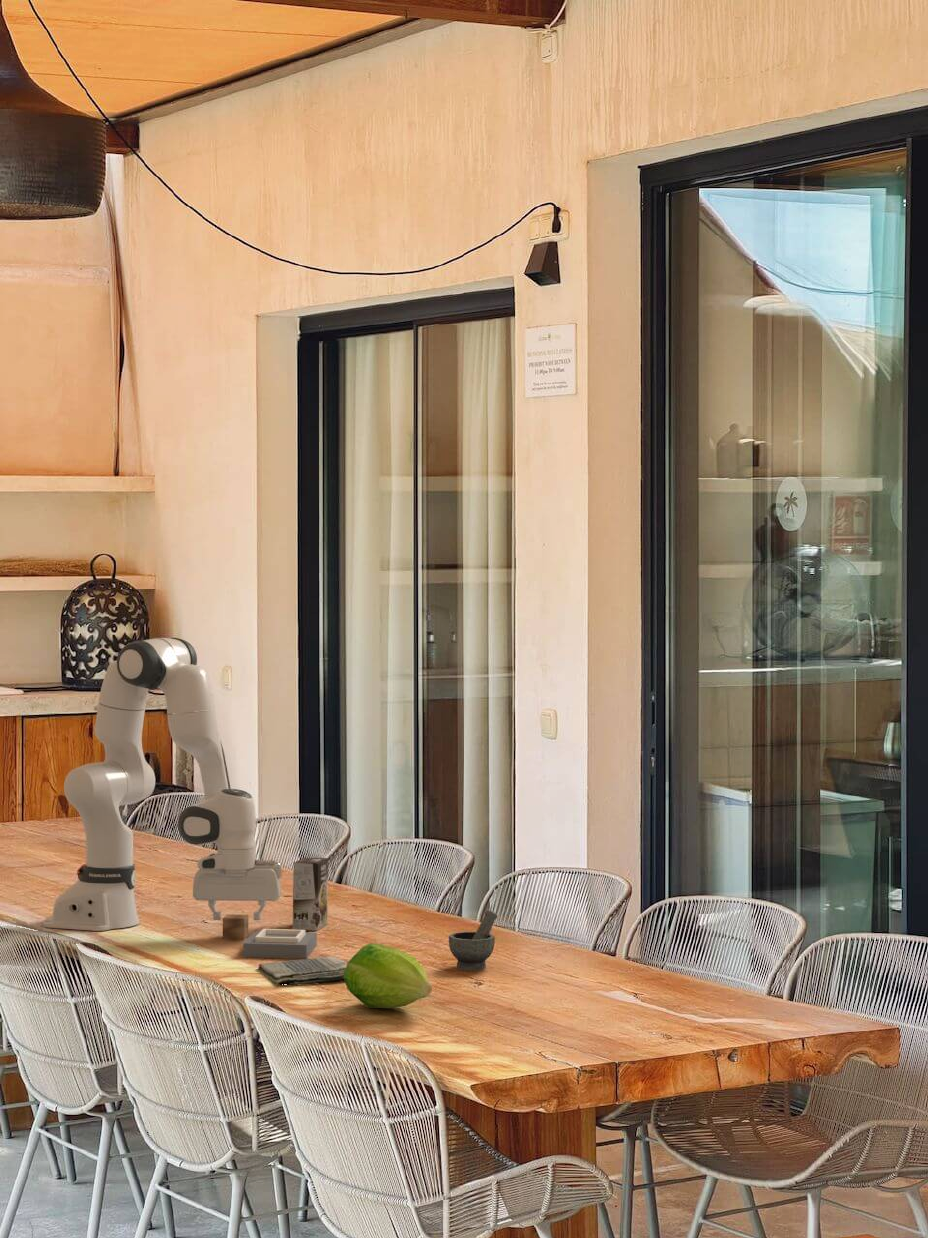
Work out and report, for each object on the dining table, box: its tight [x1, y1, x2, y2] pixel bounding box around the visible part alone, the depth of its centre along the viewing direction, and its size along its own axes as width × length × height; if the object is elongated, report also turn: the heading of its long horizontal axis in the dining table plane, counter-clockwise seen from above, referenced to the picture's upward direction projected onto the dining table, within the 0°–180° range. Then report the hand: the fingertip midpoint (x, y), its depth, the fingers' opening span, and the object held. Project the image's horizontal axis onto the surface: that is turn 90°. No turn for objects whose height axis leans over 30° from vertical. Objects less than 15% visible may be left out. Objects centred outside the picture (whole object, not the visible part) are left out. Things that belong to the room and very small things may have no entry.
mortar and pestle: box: [448, 909, 498, 972], centre depth 387 cm, size 11×9×12 cm
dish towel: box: [257, 956, 348, 987], centre depth 378 cm, size 19×18×3 cm
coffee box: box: [291, 857, 329, 932], centre depth 430 cm, size 9×6×16 cm
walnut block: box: [222, 913, 249, 941], centre depth 416 cm, size 5×5×5 cm
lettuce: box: [344, 942, 433, 1009], centre depth 347 cm, size 14×20×12 cm
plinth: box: [242, 928, 318, 960], centre depth 401 cm, size 14×14×4 cm
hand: (237, 920), depth 416 cm, fingers open, 8 cm apart
